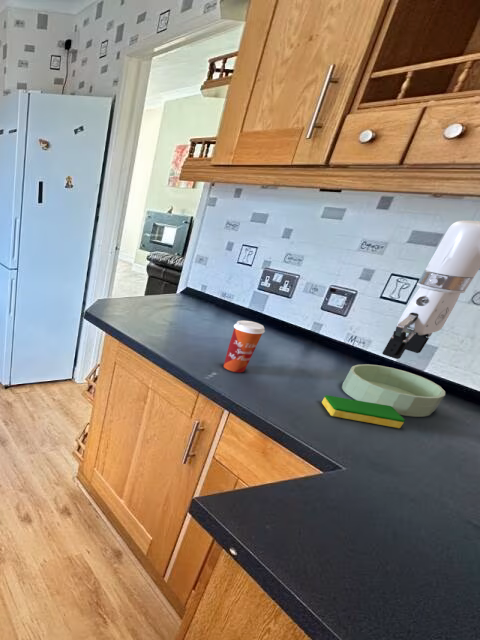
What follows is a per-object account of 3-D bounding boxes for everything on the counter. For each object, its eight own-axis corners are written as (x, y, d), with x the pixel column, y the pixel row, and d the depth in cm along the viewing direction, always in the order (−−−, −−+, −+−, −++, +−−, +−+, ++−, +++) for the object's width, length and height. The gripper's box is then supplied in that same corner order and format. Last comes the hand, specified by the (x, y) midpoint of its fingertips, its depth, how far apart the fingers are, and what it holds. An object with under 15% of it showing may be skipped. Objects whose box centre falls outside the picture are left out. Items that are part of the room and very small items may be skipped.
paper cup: (223, 372, 122) (240, 327, 115) (216, 361, 128) (231, 318, 122) (252, 375, 120) (271, 330, 114) (244, 364, 127) (260, 321, 120)
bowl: (446, 407, 107) (459, 389, 104) (411, 423, 100) (424, 404, 97) (363, 376, 121) (372, 360, 119) (327, 388, 114) (336, 371, 112)
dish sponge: (400, 429, 98) (406, 420, 97) (330, 416, 102) (335, 408, 101) (386, 414, 104) (391, 405, 102) (320, 402, 108) (325, 394, 107)
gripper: (447, 290, 84) (401, 366, 92) (485, 282, 90) (439, 354, 99) (401, 280, 90) (362, 352, 98) (440, 274, 96) (400, 342, 105)
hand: (400, 353), depth 98 cm, fingers open, 8 cm apart
